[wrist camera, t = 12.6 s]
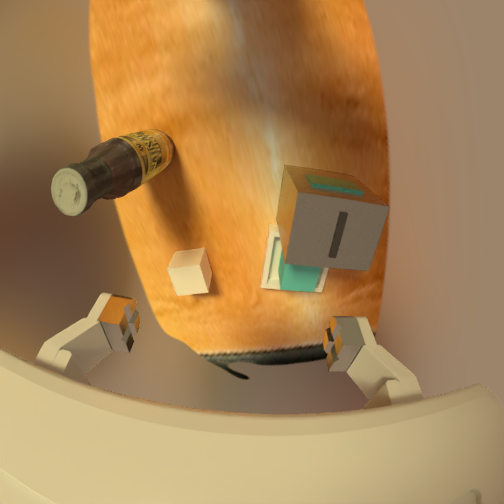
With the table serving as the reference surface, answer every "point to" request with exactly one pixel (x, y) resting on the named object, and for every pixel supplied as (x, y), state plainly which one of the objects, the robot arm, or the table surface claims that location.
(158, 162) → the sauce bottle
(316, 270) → the teal block
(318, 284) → the tray
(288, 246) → the dispenser
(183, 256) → the cream block
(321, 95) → the table surface
